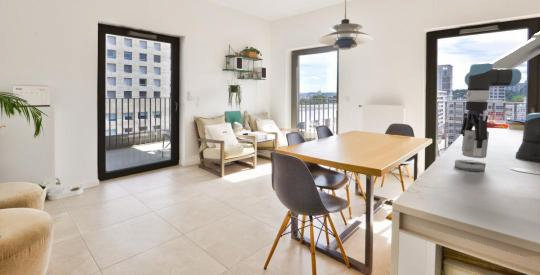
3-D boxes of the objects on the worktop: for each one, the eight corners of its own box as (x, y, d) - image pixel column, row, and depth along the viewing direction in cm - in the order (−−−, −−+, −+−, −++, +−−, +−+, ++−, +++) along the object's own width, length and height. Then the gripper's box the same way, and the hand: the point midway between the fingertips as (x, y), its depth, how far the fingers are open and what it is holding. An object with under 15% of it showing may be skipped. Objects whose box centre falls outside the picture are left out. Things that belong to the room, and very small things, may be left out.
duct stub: (471, 165, 131) (472, 158, 130) (491, 172, 120) (492, 165, 119) (448, 165, 130) (449, 159, 130) (466, 172, 119) (467, 165, 119)
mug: (470, 153, 129) (472, 129, 128) (490, 157, 122) (493, 131, 120) (452, 155, 125) (455, 130, 123) (472, 159, 117) (475, 133, 115)
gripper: (455, 100, 131) (450, 148, 135) (481, 101, 110) (475, 158, 114) (472, 100, 130) (467, 148, 134) (503, 102, 109) (495, 159, 113)
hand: (470, 153), depth 124 cm, fingers closed on mug, 9 cm apart
